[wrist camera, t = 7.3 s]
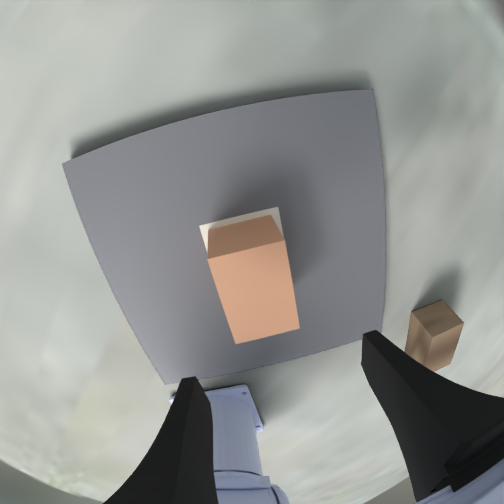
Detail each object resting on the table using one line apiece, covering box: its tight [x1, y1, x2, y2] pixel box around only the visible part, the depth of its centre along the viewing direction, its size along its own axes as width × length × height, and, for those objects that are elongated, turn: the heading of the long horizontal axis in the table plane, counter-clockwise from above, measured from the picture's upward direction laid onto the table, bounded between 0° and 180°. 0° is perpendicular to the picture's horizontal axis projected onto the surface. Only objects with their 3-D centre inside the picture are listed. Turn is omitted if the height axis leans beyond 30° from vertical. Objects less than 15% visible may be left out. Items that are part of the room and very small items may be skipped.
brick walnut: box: [405, 300, 464, 372], centre depth 26 cm, size 6×4×4 cm, turn 12°
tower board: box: [62, 89, 386, 385], centre depth 21 cm, size 20×20×1 cm
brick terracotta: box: [207, 215, 300, 344], centre depth 18 cm, size 6×4×4 cm, turn 12°
